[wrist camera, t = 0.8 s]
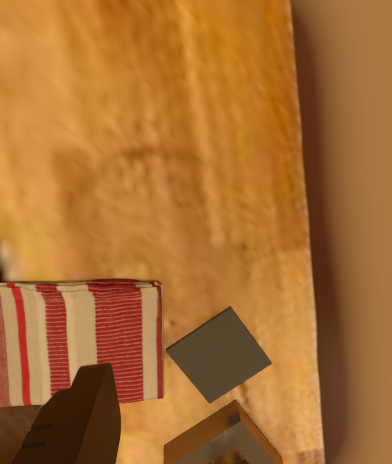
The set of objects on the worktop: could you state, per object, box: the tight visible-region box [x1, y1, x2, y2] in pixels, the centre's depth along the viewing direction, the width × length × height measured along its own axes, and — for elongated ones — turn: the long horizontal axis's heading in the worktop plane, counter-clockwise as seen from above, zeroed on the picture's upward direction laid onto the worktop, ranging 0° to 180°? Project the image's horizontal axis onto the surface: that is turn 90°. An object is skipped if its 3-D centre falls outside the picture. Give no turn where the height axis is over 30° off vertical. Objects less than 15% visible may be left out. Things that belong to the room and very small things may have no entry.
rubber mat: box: [166, 307, 272, 404], centre depth 40 cm, size 10×10×1 cm
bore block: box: [164, 400, 283, 464], centre depth 42 cm, size 12×12×4 cm
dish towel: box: [0, 279, 164, 407], centre depth 37 cm, size 17×23×3 cm
